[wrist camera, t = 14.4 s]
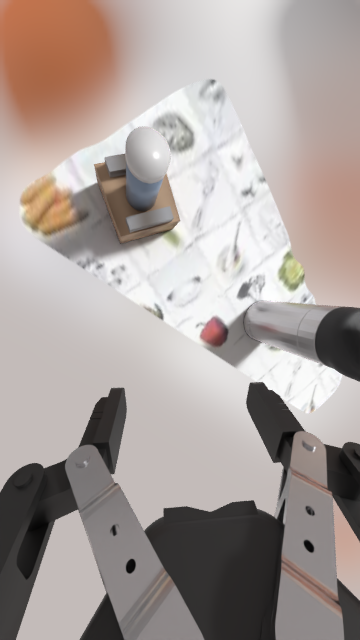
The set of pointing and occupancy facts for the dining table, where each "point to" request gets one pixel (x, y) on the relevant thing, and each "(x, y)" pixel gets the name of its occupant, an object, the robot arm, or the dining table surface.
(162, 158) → the ball-topped blue cylinder
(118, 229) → the display plinth
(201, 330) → the dining table surface
